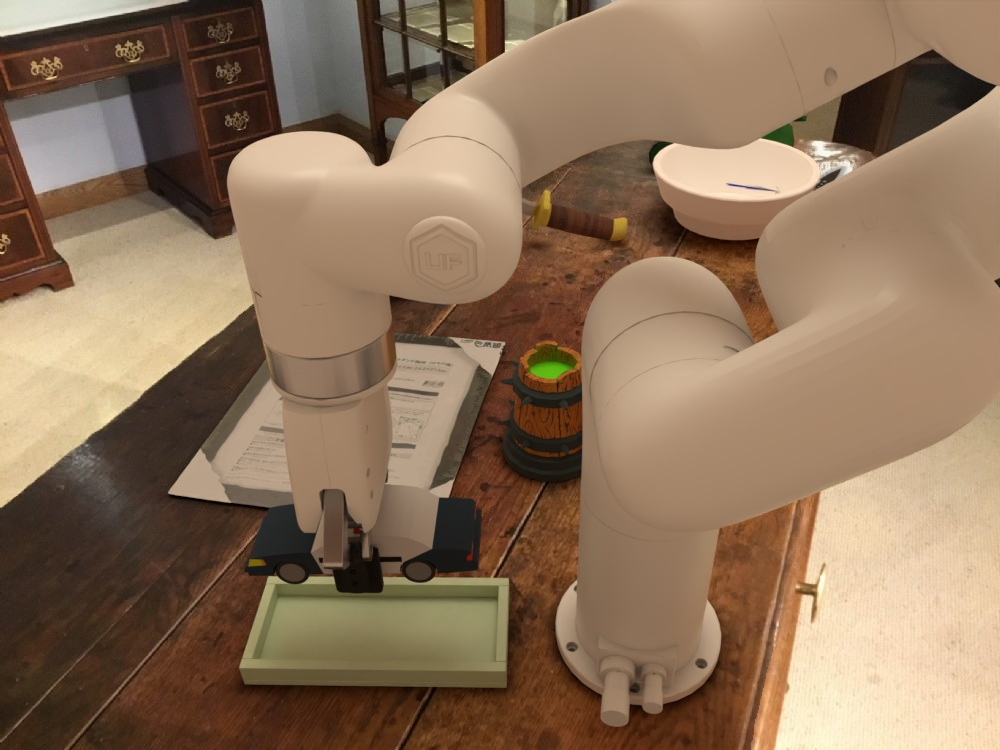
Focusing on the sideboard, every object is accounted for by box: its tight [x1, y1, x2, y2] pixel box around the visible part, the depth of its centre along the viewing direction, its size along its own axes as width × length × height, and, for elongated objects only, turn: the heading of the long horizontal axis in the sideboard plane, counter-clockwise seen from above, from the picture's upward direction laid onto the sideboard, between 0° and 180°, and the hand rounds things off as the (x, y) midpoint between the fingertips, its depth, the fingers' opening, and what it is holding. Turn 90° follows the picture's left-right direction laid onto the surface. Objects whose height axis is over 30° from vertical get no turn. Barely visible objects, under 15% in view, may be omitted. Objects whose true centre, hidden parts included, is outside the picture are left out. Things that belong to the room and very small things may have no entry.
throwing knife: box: [813, 167, 842, 191], centre depth 133 cm, size 12×1×2 cm
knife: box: [522, 189, 628, 242], centre depth 114 cm, size 5×4×30 cm
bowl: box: [652, 138, 822, 241], centre depth 120 cm, size 22×22×8 cm
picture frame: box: [167, 332, 506, 508], centre depth 89 cm, size 26×1×30 cm
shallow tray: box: [238, 575, 510, 689], centre depth 66 cm, size 9×20×2 cm, turn 88°
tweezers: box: [726, 183, 780, 194], centre depth 110 cm, size 2×12×1 cm, turn 65°
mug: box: [498, 339, 583, 483], centre depth 80 cm, size 13×10×12 cm
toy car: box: [243, 485, 483, 584], centre depth 60 cm, size 5×16×5 cm, turn 88°
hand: (367, 554), depth 61 cm, fingers closed on toy car, 5 cm apart
